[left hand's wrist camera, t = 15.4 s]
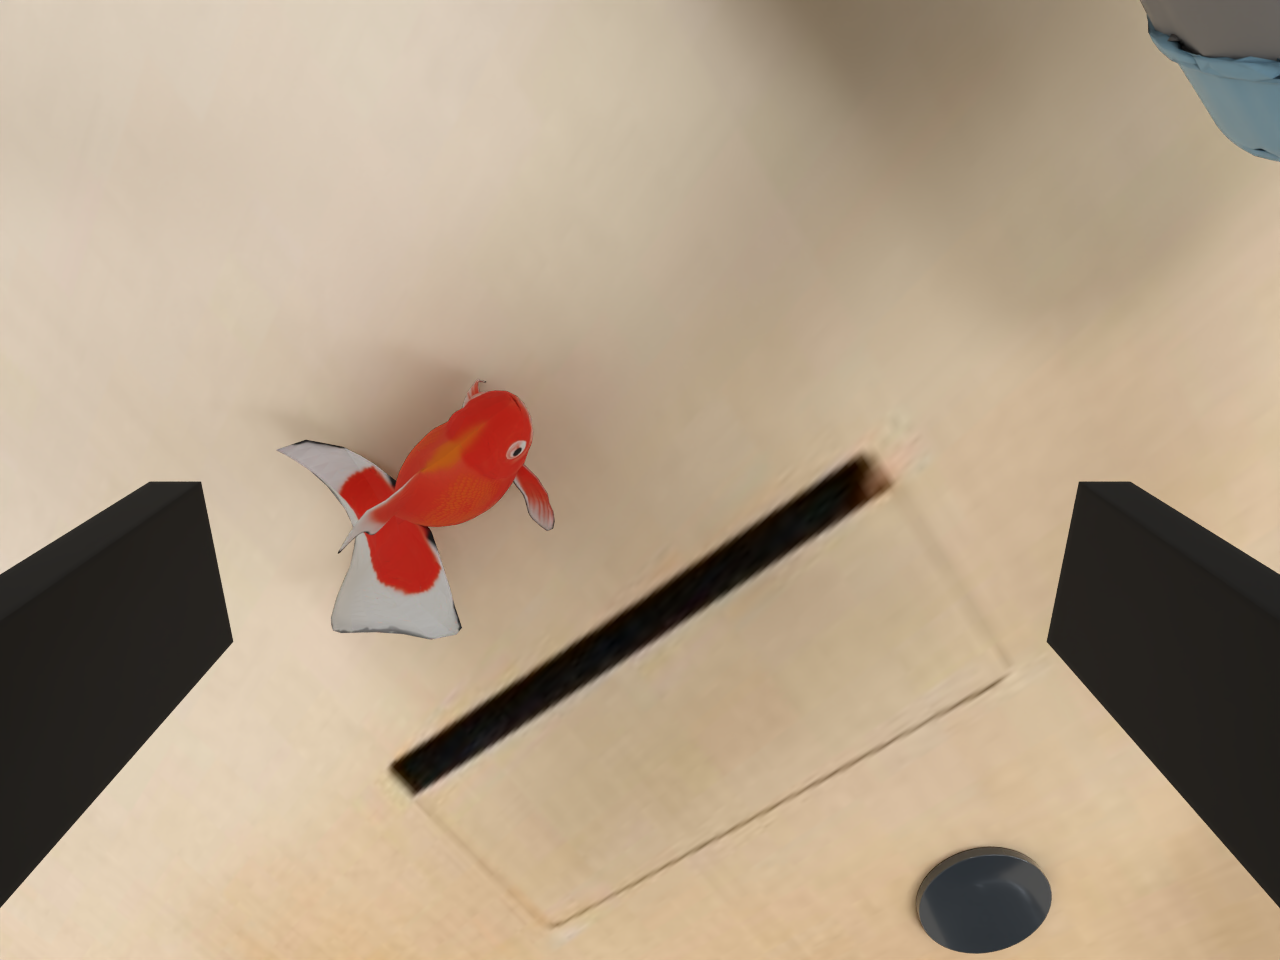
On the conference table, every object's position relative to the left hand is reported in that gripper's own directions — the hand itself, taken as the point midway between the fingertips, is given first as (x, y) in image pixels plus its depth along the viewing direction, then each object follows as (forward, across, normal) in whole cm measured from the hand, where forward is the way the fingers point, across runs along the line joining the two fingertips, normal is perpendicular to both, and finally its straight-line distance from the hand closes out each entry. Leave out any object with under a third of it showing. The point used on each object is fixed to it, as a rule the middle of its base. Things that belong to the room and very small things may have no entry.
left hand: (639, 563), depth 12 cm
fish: (+27, -10, -9) cm, 30 cm away
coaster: (+27, +21, -36) cm, 49 cm away
